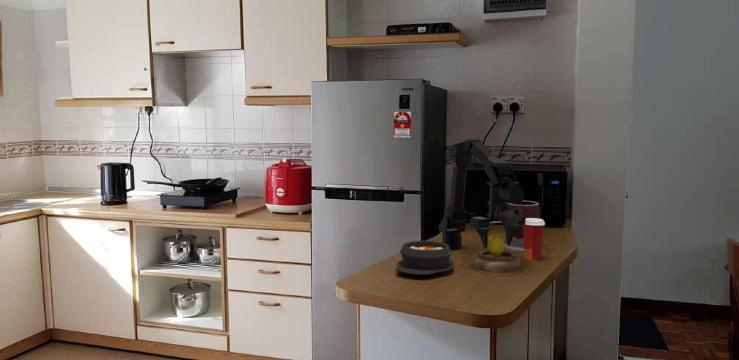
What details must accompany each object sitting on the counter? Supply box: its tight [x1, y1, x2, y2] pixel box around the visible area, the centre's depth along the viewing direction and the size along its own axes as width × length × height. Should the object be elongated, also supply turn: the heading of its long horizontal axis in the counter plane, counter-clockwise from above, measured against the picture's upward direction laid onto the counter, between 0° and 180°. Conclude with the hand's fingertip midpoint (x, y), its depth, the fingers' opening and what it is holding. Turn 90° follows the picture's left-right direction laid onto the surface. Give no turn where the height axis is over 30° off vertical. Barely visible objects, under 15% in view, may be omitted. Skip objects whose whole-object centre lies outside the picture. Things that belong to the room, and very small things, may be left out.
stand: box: [473, 249, 521, 273], centre depth 211 cm, size 15×15×4 cm
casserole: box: [395, 240, 455, 276], centre depth 205 cm, size 25×19×8 cm
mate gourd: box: [502, 200, 541, 252], centre depth 240 cm, size 16×14×20 cm
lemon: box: [487, 233, 505, 257], centre depth 211 cm, size 6×6×8 cm
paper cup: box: [523, 218, 546, 262], centre depth 221 cm, size 8×8×14 cm
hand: (497, 246), depth 210 cm, fingers open, 9 cm apart
